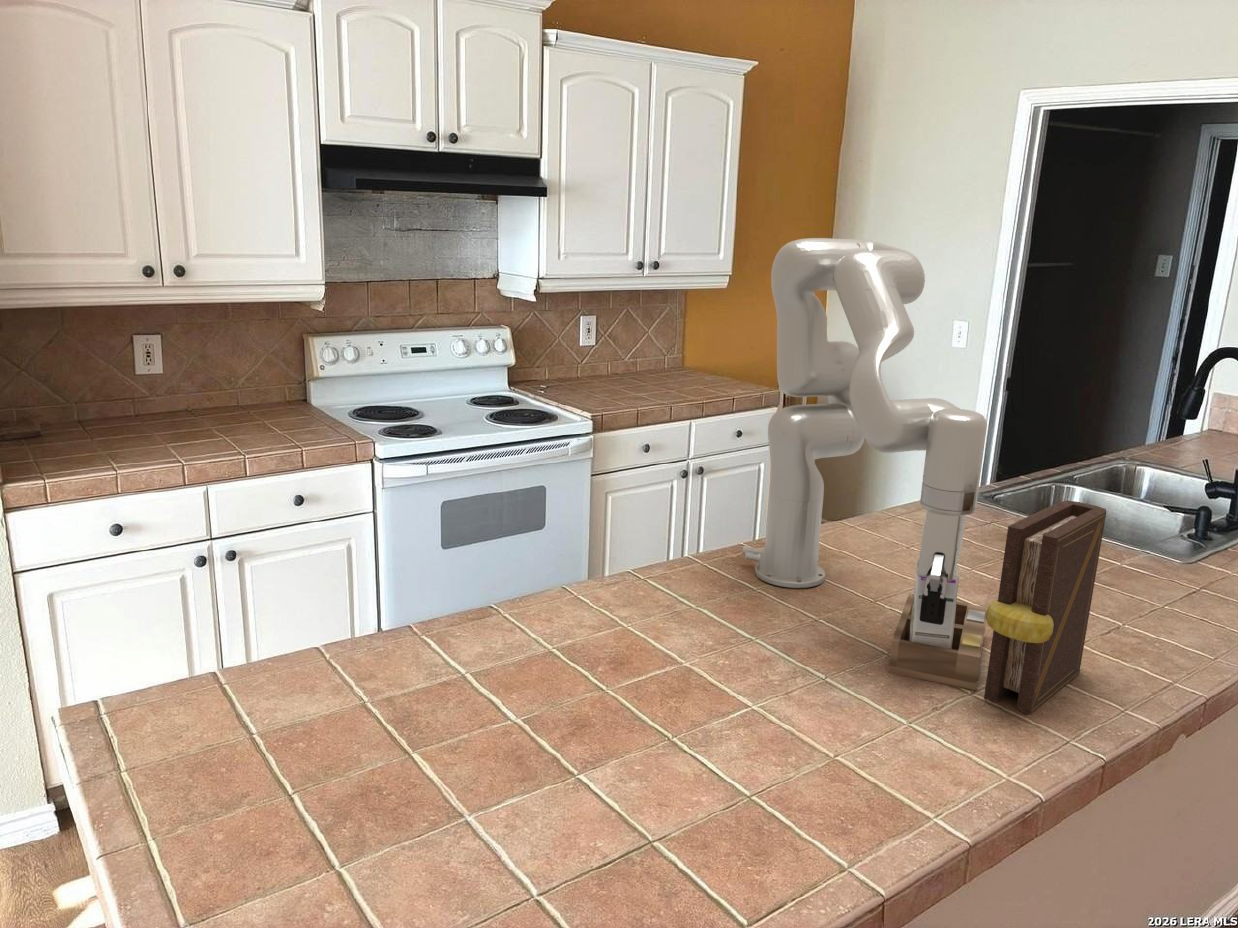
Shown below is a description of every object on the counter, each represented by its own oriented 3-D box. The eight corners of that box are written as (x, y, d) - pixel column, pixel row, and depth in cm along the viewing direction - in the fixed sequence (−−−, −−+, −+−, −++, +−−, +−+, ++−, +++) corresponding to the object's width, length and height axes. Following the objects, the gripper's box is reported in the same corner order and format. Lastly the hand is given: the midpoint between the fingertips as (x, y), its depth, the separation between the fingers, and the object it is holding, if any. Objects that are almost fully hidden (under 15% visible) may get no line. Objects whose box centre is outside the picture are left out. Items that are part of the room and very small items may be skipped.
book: (1033, 653, 145) (1057, 497, 139) (1091, 673, 139) (1119, 511, 133) (966, 701, 130) (990, 528, 124) (1028, 725, 124) (1056, 545, 118)
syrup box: (950, 670, 137) (962, 575, 133) (907, 664, 138) (918, 571, 134) (946, 653, 142) (958, 562, 138) (905, 647, 143) (916, 557, 140)
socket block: (975, 690, 133) (980, 655, 132) (888, 672, 138) (892, 638, 136) (983, 636, 151) (988, 605, 149) (905, 621, 155) (909, 591, 154)
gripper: (927, 479, 143) (915, 585, 147) (913, 509, 127) (900, 627, 132) (980, 485, 140) (966, 594, 144) (972, 518, 125) (957, 638, 129)
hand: (934, 609), depth 138 cm, fingers open, 9 cm apart
